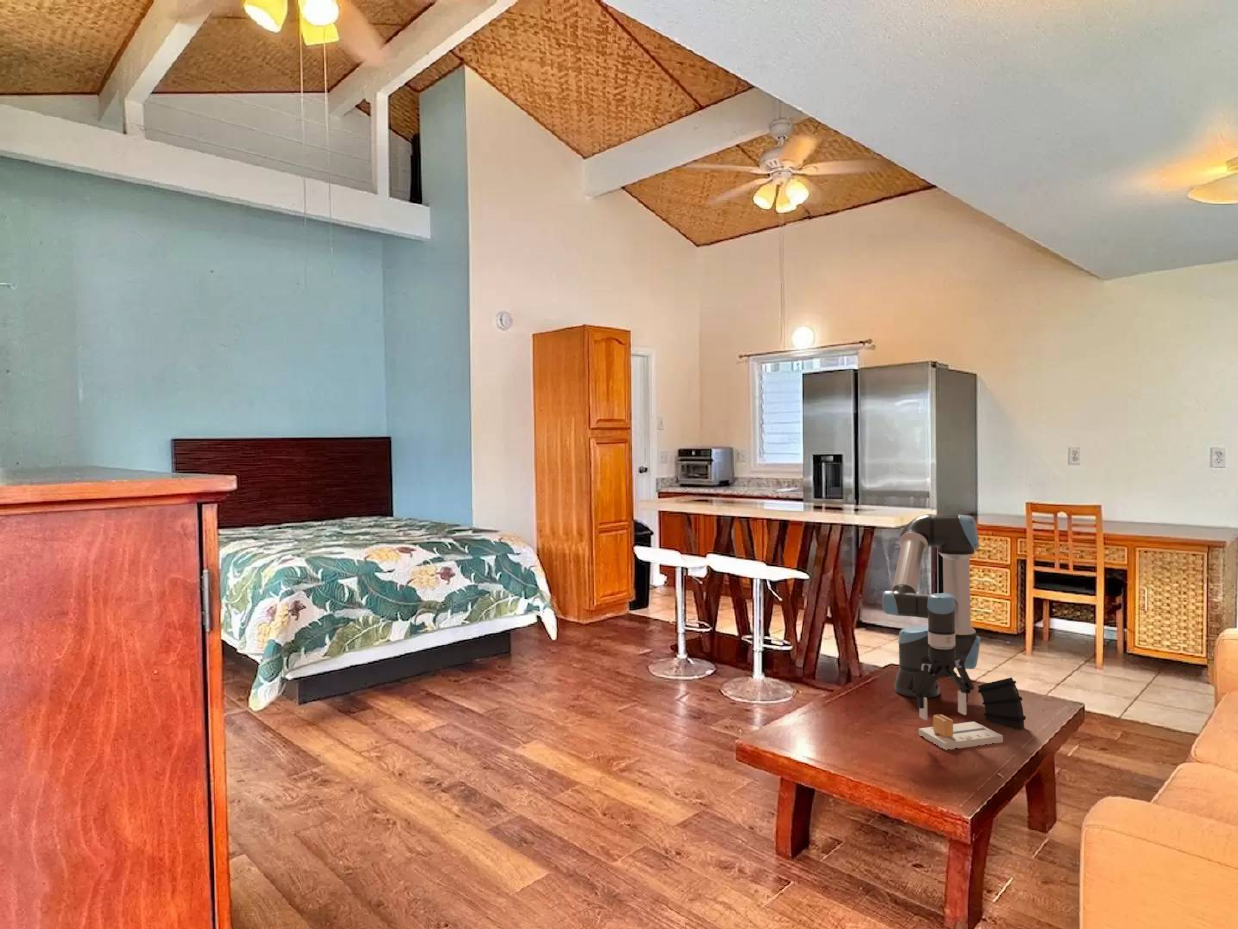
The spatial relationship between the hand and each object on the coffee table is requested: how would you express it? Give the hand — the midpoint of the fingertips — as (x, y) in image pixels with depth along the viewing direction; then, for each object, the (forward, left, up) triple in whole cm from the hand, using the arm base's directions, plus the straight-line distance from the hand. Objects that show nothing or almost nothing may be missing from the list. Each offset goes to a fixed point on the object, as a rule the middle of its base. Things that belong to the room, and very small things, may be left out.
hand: (942, 716), depth 219 cm
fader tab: (0, 0, -5) cm, 5 cm away
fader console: (0, +6, -7) cm, 9 cm away
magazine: (-7, +27, -8) cm, 29 cm away
